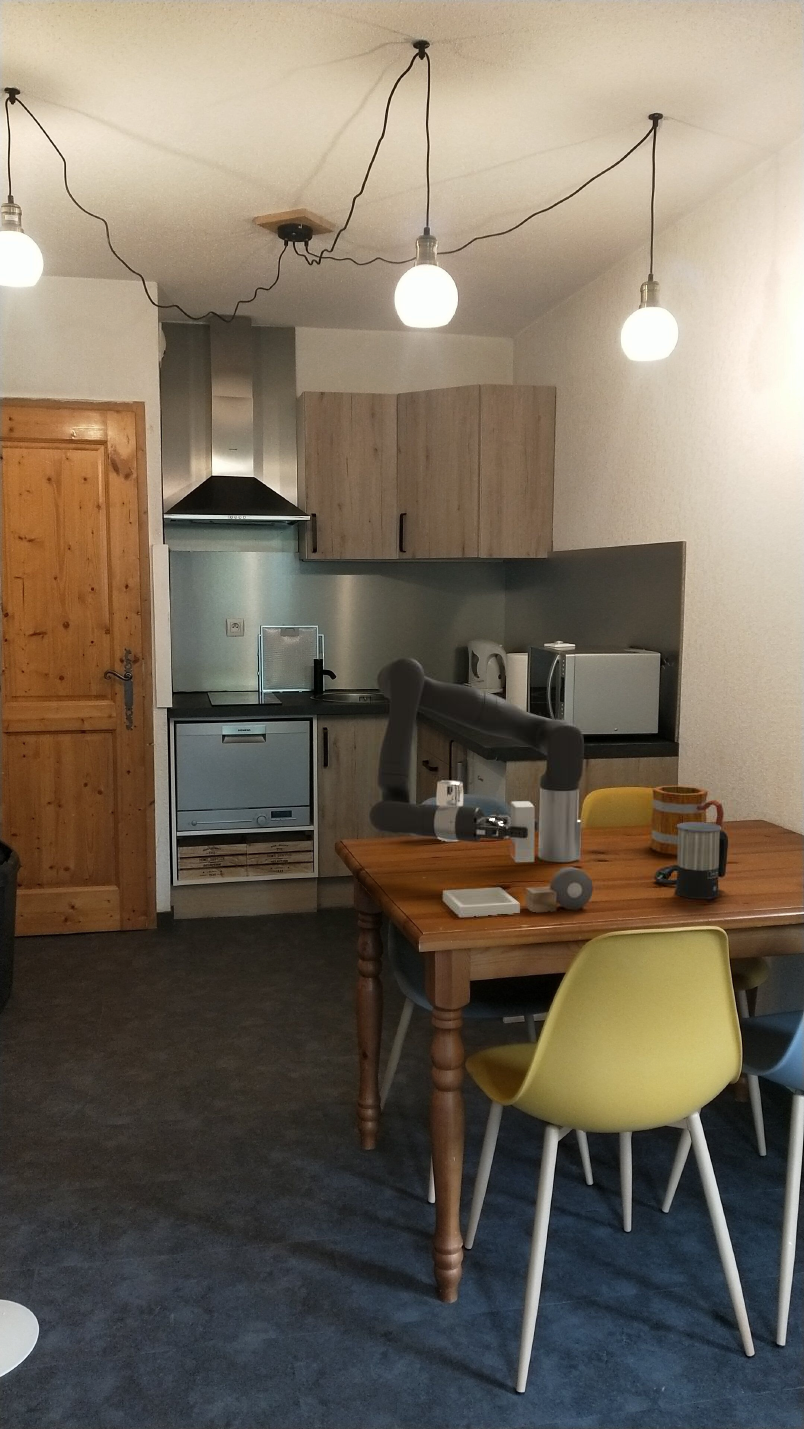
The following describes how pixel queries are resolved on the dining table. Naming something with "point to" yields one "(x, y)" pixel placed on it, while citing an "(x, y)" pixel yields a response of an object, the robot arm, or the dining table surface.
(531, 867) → the dining table surface
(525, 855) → the skincare box
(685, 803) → the mug
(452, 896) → the tray
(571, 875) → the trolley wheel
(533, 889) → the walnut block
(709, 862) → the milk frother
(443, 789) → the beer glass
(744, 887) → the dining table surface
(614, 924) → the dining table surface
